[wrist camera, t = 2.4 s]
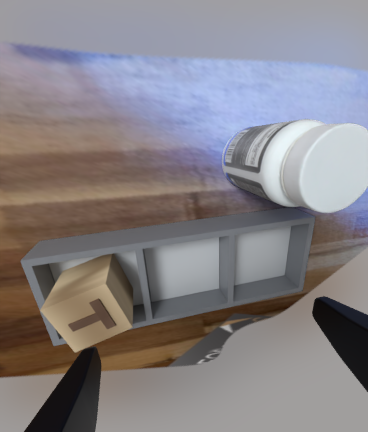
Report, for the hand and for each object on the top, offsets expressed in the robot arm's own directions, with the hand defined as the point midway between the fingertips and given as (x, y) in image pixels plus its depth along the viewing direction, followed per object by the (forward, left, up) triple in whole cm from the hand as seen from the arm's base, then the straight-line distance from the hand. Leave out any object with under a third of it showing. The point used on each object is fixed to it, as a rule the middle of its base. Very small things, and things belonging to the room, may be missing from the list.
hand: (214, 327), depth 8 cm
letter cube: (+6, +3, -9) cm, 12 cm away
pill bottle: (-7, -5, -10) cm, 13 cm away
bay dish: (-1, +3, -10) cm, 11 cm away
